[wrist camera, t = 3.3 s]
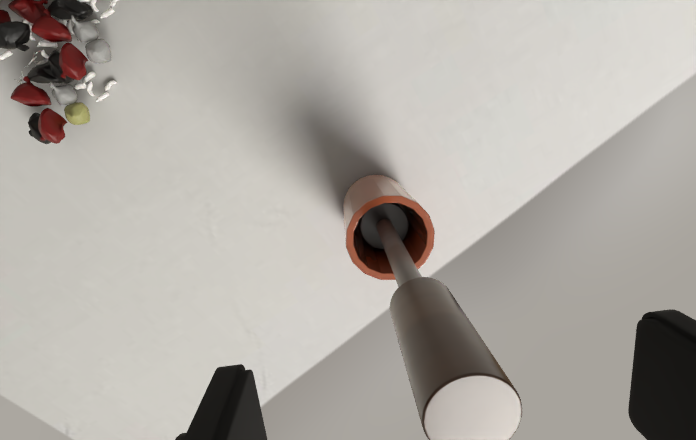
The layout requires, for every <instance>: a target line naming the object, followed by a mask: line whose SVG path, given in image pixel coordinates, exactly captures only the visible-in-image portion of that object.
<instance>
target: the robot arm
mask: <svg viewBox="0 0 696 440" xmlns="http://www.w3.org/2000/svg"><path fill="white" fill-rule="evenodd" d="M629 417H630V419H631V422H632V423H633V425H634V427H635V428H636V429H637V430H638V431H639V432H640V433H641V434H642V435H643V436H644V437H645V438H646V439H647V440H696V320H694V319H692V318H690V317H688V316H686V315H685V314H683V313H681V312H679V311H676V310H663V311H655V312H648V313H646V314H644V315H643V317H642V320H640V321H639V322H638V324H637V330H636V340H635V350H634V360H633V371H632V380H631V390H630V400H629ZM175 440H267V436H266V431H265V427H264V422H263V418H262V413H261V408H260V403H259V399H258V394H257V389H256V385H255V380H254V375H253V372H252V370H245V368H244V366H243V365H242V364H240V365H233V366H225V367H219V368H217V369H216V371H215V373H214V375H213V377H212V379H211V382H210V384H209V386H208V388H207V390H206V392H205V394H204V397H203V399H202V401H201V403H200V405H199V407H198V410H197V412H196V414H195V416H194V418H193V420H192V422H191V425H190V427H189V429H188V431H187V433H182V434H180V435H179V436H178V437H177V438H176V439H175Z"/></svg>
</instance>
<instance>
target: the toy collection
mask: <svg viewBox="0 0 696 440" xmlns="http://www.w3.org/2000/svg"><path fill="white" fill-rule="evenodd" d="M83 1H84V2H86V1H90V0H54V1H53V2H52V3H51V4H50V6H49V7H48V9H46V8H45V7H44V6H43V4H47V3H48V0H40V1H33V0H14V1H12V2H10V3H9V4H8V7H9V8H10V9H11V10H13V11H14V12H15V13H17V14H18V15H19V16H21V17H23V18H24V19H23V22H18V21H14V22H11V20H10V17H9V14H8V12H7V11H4V10H0V48H4V49H9V50H7V51H5V52H4V53H3V54H1V55H0V60H4V59H6V58H7V57H9V56H11V55H12V54H13V53H12V52H11V51H10V49H15V48H18V49H20V50H22V51H26V50H28V49H29V47H28V46H27V45H22V44H25V43H27V42H28V41H29V40H36V39H34V37H33V36H32V34H31V33H32V32H33V33H35V34H37V35H38V36H40V37H42V38H43V40H41V41H39V42H38V44H37V47H39V46H43V47H56V50H54V51H52V53H51V54H50V55H47V54H46V52H45V51H44V49H42V50H41V54H42V56H43V57H45V58H44V59H43V60H42V61H39V62H38V63H36V64H35V65H36V67H34V68H33V69H32V70H31V71H30V72H29V73H28V75H27V76H24V77H23V73H22V77H23V78H24V79H20V81H19V82H20V83H21V80H24V81H26V83H23V84H21V85H19V86H17V87H16V89H15V90H14V91H13V93H12V96H11V99H13V100H16V101H18V102H20V103H23V104H25V105H28V106H41V105H51V101H50V98H49V96H48V94H47V93H46V92H45V91H44V90H43V89H40V88H38V87H36V86H34V85H33V84H32V83H31V82H30V81H34V82H37V83H50V87H51V88H53V90H52V94H53V96H54V98H55V99H56V100H57V102H58V103H59V104H60V105H62V106H63V105H67V104H70V105H67V106H66V107H65V109H64V111H65V116H66V118H67V120H68V121H69V122H70V123H72V124H74V125H79V124H84V123H87V122H89V121H90V114H89V110H88V108H87V107H86V106H85V105H84V104H83V103H81V102H77V103H75V102H76V101H77V94H76V92H75V90H74V88H73V87H72V86H71V85H63V86H56V87H55V86H54V85H53V83H70V82H71V81H73V80H74V79H75V80H81V79H82V77H83V76H85V75H86V68H85V62H86V61H88V59H87V58H86V57H85V56H84V55H83V53H82V52H81V51H80V50H78V49H77V48H76V47H75V46H74V45H72V44H71V43H69V42H71V41H72V37H71V34H73V35H76V37H77V38H78V39H77V40H78V41H80V42H82V43H83V42H88V41H89V43H87V44H86V53H87V56H88V58H89V59H90V60H91V61H92V62H93V63H96V64H101V63H106V62H109V61H111V51H110V46H109V44H108V43H107V42H106V41H105V40H103V39H97V38H98V35H99V33H98V30H97V28H96V26H95V25H94V24H96V23H100V22H99V21H98V20H97V19H93V20H91V21H81V22H78V21H76V20H75V19H79V20H83V19H85V18H86V17H87V16H90V15H91V14H92V12H93V10H94V11H97V12H99V10H98V9H97V7H96V5H95V4H96V1H97V0H91V1H90V2H91V6H90V5H88V4H86V3H84V2H83ZM117 1H118V0H112V1H110V7H111V8H109V9H108V10H106V11H105V12H103V13H102V14H101V16H100V17H101V18H106V17H107V16H109V15H111V14H113V13H114V12H115V10H114V9H113V8H112V6H115V4H116V2H117ZM51 15H53V16H55V17H57V18H60V19H58V20H55V19H54V18H53V17H51ZM63 19H64V20H63ZM70 19H71V20H70ZM67 20H69V21H68V23H67ZM30 23H33V26H32V24H30ZM74 23H75V24H74ZM67 24H68V28H67V27H66V26H65V25H67ZM73 25H74V26H73ZM50 41H51V42H50ZM62 41H66V42H68V43H66V44H64V45H63V46H62V48H61V49H58V48H57V46H58V45H57V43H56V42H62ZM39 51H40V50H39ZM35 54H36V53H35ZM35 54H33V57H34V55H35ZM35 58H36V57H35ZM35 58H34V59H35ZM34 59H33V60H34ZM33 60H31V64H32V61H33ZM36 62H37V61H36ZM29 64H30V63H29ZM29 64H28V65H29ZM24 67H26V66H24ZM95 75H96V74H95V73H94V72H92V71H91V72H89V73H88V74H87V75H86V76H85V77H84V81H83V82H84V83H80V82H79V83H77V84H75V86H74V87H75V89H77V90H79V89H80V88H81V89H83V88H86V87H87V92H88V93H89V95H91V96H95V95H94V93H93V92H92V90H91V89H92V87H93V84H92V83H93V82H92V81H90V80H91V79H92V78H94V77H95ZM14 80H15V79H14ZM17 81H18V80H17ZM89 81H90V82H89ZM19 82H18V83H19ZM86 82H89V83H88V84H87V85H86V84H85V83H86ZM113 84H117V82H116V81H115V80H111V81H109V82H108V83H107V85H106V86H105V91H107V90H109V89H110V87H111V85H113ZM108 96H109V93H108V92H104V93H103V94H102V95H100V96H99V97H97V100H96V101H97V102H98V101H102V100H103V99H104V98H106V97H108ZM66 123H67V121H66V120H65V119H64V118H63V117H61V116H60V115H59V114H57V113H56V112H54V111H53V110H51V109H49V108H46V109H44V110H43V111H42V112H41V114H38V113H36V112H35V113H34V114H32V116H31V117H30V119H29V122H28V124H29V127H30V131H29V134H30V136H32V137H34V138H35V139H37V140H38V141H40V142H42V143H45V144H49V143H50V142H52V143H56V144H57V143H60V141H61V140H62V139H63V138H64V137H65V133H64V130H63V126H64V125H65V124H66Z"/></svg>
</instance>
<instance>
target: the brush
mask: <svg viewBox="0 0 696 440" xmlns="http://www.w3.org/2000/svg"><path fill="white" fill-rule="evenodd" d="M358 223H359V227H360V232H361V235H362V237H363V239H364V240H365V241H366V242H367V243H368V244H369V245H370V246H372V247H374V248H377V249H384V250H385V252H386V255H387V258H388V260H389V263H390V265H391V268H392V271H393V273H394V276H395V279H396V281H397V284H398V287H399V288H398V289H397V290H396V291H395V293H394V294H393V296H392V299H391V302H390V313H391V317H392V321H393V324H394V328H395V331H396V335H397V338H398V342H399V345H400V349H401V352H402V356H403V359H404V363H405V366H406V370H407V373H408V377H409V381H410V384H411V388H412V390H413V394H414V398H415V402H416V405H417V409H418V412H419V416H420V419H421V423H422V426H423V429H424V432H425V434H426V436H427V437H428V439H429V440H509V439H510V438H511V437H512V436H513V434H514V433H515V432H516V430H517V428H518V426H519V424H520V421H521V417H522V404H521V399H520V397H519V394H518V393H517V391H516V390H515V388H514V387H513V385H512V383H511V382H510V380H509V379H508V377H507V376H506V375H505V373H504V372H503V370H502V369H501V367H500V365H499V364H498V362H497V361H496V360H495V358H494V357H493V355H492V354H491V352H490V351H489V349H488V348H487V346H486V345H485V343H484V342H483V340H482V339H481V337H480V336H479V334H478V333H477V331H476V330H475V328H474V327H473V325H472V324H471V322H470V321H469V319H468V318H467V317H466V315H465V313H464V312H463V310H462V309H461V307H460V306H459V304H458V303H457V301H456V300H455V298H454V297H453V295H452V294H451V292H450V291H449V289H448V288H447V287H446V286H445V285H444V284H443V283H441V282H440V281H438V280H436V279H433V278H428V277H422V276H421V275H420V273H419V271H418V269H417V267H416V266H415V264H414V262H413V260H412V258H411V256H410V255H409V253H408V251H407V249H406V247H405V246H404V244H403V242H402V241H403V240H404V238H405V237H406V235H407V232H408V228H409V222H408V217H407V215H406V213H405V212H404V210H403V209H402V208H401V206H400V205H399V204H398V203H383V204H380V205H378V206H375V207H373V208H370V209H369V210H368V211H367V212H366V213H365V214H364V215H363V216H362V217H361V218H360V219H359V221H358Z"/></svg>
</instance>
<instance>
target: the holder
mask: <svg viewBox="0 0 696 440" xmlns="http://www.w3.org/2000/svg"><path fill="white" fill-rule="evenodd" d="M383 203H398V204H399V205H400V206H401V208H402V209H403V210H404V212H405V213H406V215H407V217H408V222H409V228H408V232H407V235H406V237H405V238H404V240H403V241H402V242H403V244H404V246H405V247H406V249H407V251H408V253H409V255H410V256H411V258H412V260H413V262H414V264H415V266H416V267H417V269H419V268H420V267H421V266H422V265H423V264H424V263H425V262H426V260H427V259H428V257H429V255H430V253H431V251H432V249H433V245H434V228H433V225H432V222H431V219H430V216H429V214H428V213H427V212H426V211H425V210H424V209H423V208H422V207H421V206H420V205H419V204H418V203H417V202H416V201H415V200H414V199H413V198H412V197H411V196H410V195H409V194H408V193H407V192H406V191H405V190H404V189H403V188H402V187H401V186H400V185H399V184H398V183H397V182H396V181H395V180H393V179H391V178H389V177H387V176H383V175H368V176H365V177H363V178H361V179H359V180H357V181H356V182H355V183H354V184H353V185H352V186H351V187H350V188H349V190H348V191H347V193H346V195H345V198H344V204H343V215H344V227H345V239H346V248H347V250H348V253H349V255H350V257H351V260H352V262H353V263H354V264H355V265H356V266H357V267H358V268H359V269H360V270H361V271H362V272H363V273H365V274H367V275H369V276H372V277H375V278H377V279H381V280H396V279H395V276H394V273H393V271H392V268H391V265H390V263H389V260H388V258H387V255H386V252H385V250H384V249H377V248H374V247H372V246H370V245H369V244H368V243H367V242H366V241H365V240H364V239H363V237H362V235H361V232H360V227H359V223H358V221H359V219H360V218H361V217H362V216H363V215H364V214H365V213H366V212H367V211H368V210H369V209H370V208H373V207H375V206H378V205H380V204H383Z"/></svg>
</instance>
